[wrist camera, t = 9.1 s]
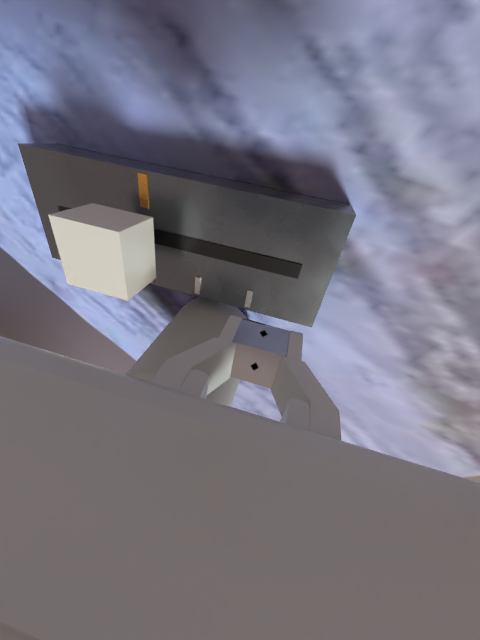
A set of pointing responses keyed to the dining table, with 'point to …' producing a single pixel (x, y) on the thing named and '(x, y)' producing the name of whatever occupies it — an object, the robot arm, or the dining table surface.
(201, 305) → the can
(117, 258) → the fader knob
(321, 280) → the fader panel
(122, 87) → the dining table surface
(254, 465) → the robot arm
